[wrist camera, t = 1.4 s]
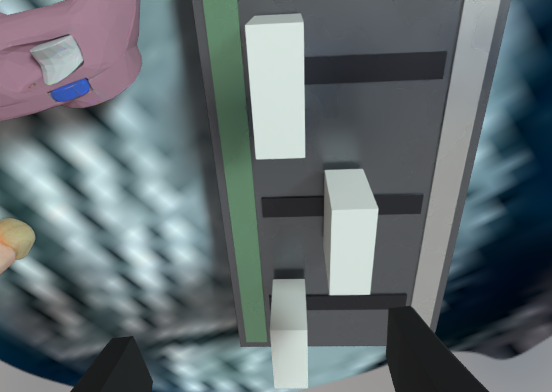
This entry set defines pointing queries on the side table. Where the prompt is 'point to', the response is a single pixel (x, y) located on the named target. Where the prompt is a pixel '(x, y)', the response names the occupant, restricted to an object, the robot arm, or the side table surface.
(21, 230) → the grandmother figurine
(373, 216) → the block
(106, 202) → the side table surface
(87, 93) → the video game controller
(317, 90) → the breaker panel
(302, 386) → the block
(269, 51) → the block
